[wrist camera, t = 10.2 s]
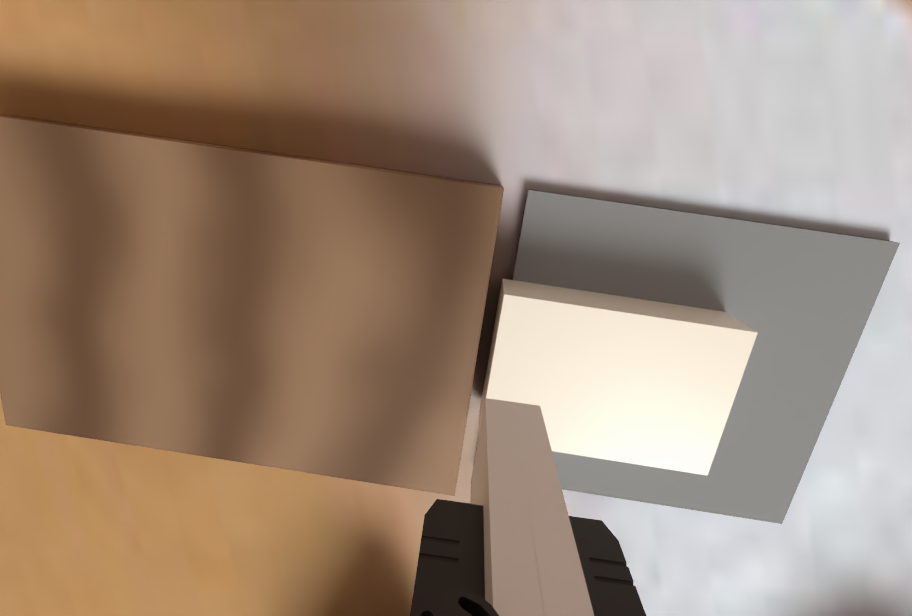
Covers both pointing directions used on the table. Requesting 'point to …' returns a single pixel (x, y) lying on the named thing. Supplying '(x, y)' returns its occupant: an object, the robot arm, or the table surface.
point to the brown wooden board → (240, 302)
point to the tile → (618, 373)
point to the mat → (742, 296)
